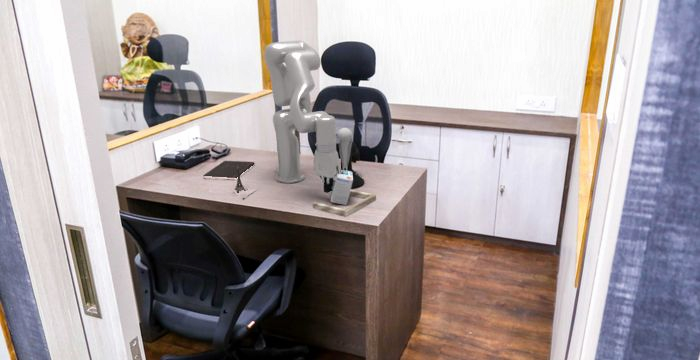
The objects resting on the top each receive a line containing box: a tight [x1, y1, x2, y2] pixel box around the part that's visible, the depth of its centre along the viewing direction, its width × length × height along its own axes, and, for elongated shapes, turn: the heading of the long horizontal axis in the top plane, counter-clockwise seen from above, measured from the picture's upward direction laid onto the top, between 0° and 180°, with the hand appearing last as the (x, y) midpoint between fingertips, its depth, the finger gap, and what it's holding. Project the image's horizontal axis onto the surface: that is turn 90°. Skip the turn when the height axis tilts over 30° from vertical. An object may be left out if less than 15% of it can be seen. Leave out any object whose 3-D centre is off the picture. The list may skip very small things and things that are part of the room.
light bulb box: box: [330, 169, 353, 206], centre depth 206 cm, size 11×7×11 cm, turn 2°
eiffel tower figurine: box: [234, 165, 246, 193], centre depth 217 cm, size 15×10×13 cm
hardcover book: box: [202, 160, 256, 178], centre depth 247 cm, size 16×23×2 cm
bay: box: [312, 189, 377, 218], centre depth 204 cm, size 16×20×2 cm
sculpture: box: [332, 127, 365, 190], centre depth 226 cm, size 15×24×25 cm, turn 167°
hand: (327, 191), depth 208 cm, fingers closed
